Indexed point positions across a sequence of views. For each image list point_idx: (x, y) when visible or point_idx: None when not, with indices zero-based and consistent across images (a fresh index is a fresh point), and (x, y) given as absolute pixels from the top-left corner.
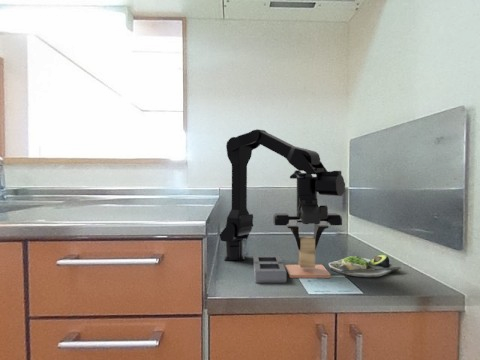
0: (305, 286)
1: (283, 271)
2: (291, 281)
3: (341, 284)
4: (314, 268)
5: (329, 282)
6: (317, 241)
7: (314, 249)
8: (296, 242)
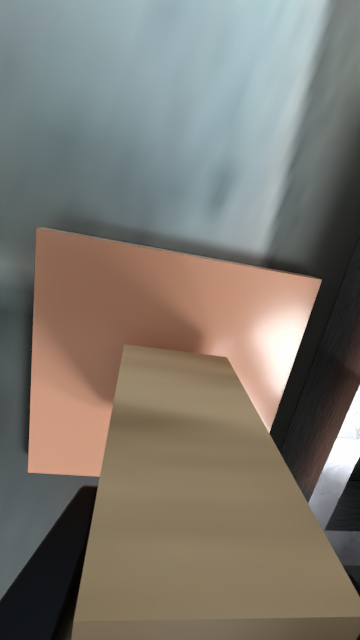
0: (304, 45)
1: None
2: (338, 196)
3: (6, 20)
4: (107, 396)
5: (90, 107)
6: (24, 592)
7: (115, 444)
8: (352, 578)
